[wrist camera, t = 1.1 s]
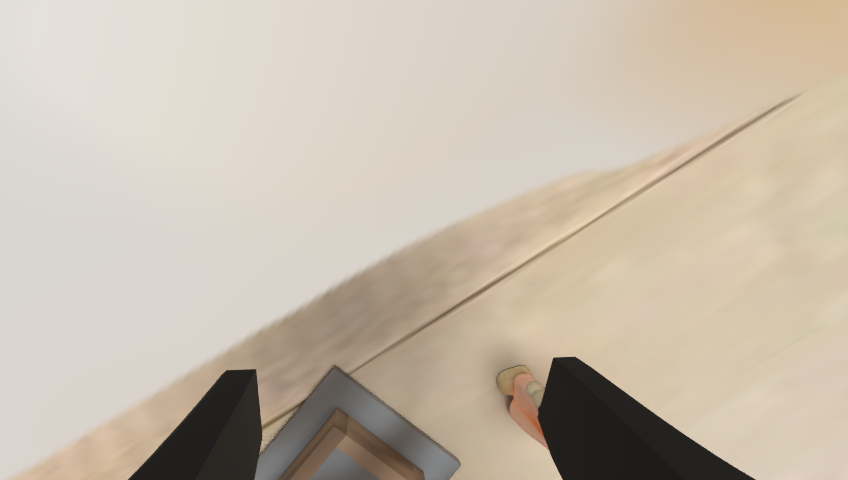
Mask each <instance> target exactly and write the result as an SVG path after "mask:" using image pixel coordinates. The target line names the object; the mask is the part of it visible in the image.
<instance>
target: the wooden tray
mask: <svg viewBox="0 0 848 480" xmlns="http://www.w3.org/2000/svg"><path fill="white" fill-rule="evenodd" d="M460 465H461V464H460V461H459V460H458V459H457V458H456V457H454V456H453V455H452V454H450V453H449V452H448V451H447V450H445V449H444V448H443V447H441V446H440V445H439V444H437V443H436V442H435V441H433V440H432V439H431V438H429V437H428V436H427V435H426V434H424V433H423V432H422V431H420V430H419V429H418V428H416V427H415V426H414V425H412V424H411V423H410V422H409V421H407V420H406V419H405V418H403V417H402V416H401V415H399V414H398V413H397V412H395V411H394V410H393V409H391V408H390V407H389V406H388V405H386V404H385V403H384V402H382V401H381V400H380V399H378V398H377V397H376V396H374V395H373V394H372V393H371V392H369V391H368V390H367V389H365V388H364V387H363V386H361V385H360V384H359V383H357V382H356V381H355V380H353V379H352V378H351V377H350V376H348V375H347V374H346V373H344V372H343V371H342V370H340V369H339V368H338V367H336V366H334V367H333V368H332V369H331V371H330V372H329V373H328V374H327V375H326V377H325V378H324V379H323V380H322V381H321V383H320V384H319V385H318V386H317V387H316V389H315V390H314V391H313V392H312V393H311V395H310V396H309V397H308V398H307V399H306V401H305V402H304V403H303V404H302V405H301V406H300V408H299V409H298V410H297V411H296V412H295V414H294V415H293V416H292V417H291V418H290V420H289V421H288V422H287V423H286V424H285V426H284V427H283V428H282V429H281V430H280V432H279V433H278V434H277V435H276V436H275V438H274V439H273V440H272V441H271V442H270V444H269V445H268V446H267V447H266V448H265V450H264V451H263V452H262V453H261V454H260V456H259V458H258V463H257V469H256V474H255V479H254V480H449V479H450V478H451V477H452V475H453V474H454V473H455V472H456V470H457V469H458V468H459V467H460Z"/></svg>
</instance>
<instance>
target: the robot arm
mask: <svg viewBox="0 0 848 480" xmlns="http://www.w3.org/2000/svg"><path fill="white" fill-rule="evenodd" d="M537 418H538V421H539V424H540V427H541V429H542V432H543V435H544V438H545V441H546V443H547V446H548V449H549V451H550V454H551V456H552V459H553V461H554V463H555V465H556V467H557V469H558V471H559V473H560V475H561V477H562V479H563V480H755V479H754V478H752V477H750V476H749V475H747V474H745V473H743V472H742V471H740V470H738V469H737V468H735V467H733V466H732V465H730V464H729V463H727V462H725V461H724V460H722V459H721V458H719V457H717V456H716V455H714V454H713V453H711V452H710V451H708V450H707V449H705V448H704V447H702V446H701V445H699V444H698V443H696V442H695V441H693V440H692V439H690V438H689V437H687V436H686V435H684V434H683V433H681V432H680V431H678V430H677V429H675V428H674V427H673V426H671V425H670V424H668V423H667V422H665V421H664V420H663V419H661V418H660V417H658V416H657V415H656V414H654V413H653V412H651V411H650V410H649V409H647V408H646V407H644V406H643V405H642V404H640V403H639V402H638V401H636V400H635V399H633V398H632V397H631V396H629V395H628V394H627V393H625V392H624V391H623V390H621V389H620V388H618V387H617V386H616V385H614V384H613V383H612V382H610V381H609V380H608V379H606V378H605V377H603V376H602V375H601V374H599V373H598V372H597V371H595V370H594V369H592V368H591V367H590V366H588V365H587V364H585V363H584V362H582V361H581V360H579V359H578V358H576V357H558V358H553V361H552V365H551V368H550V372H549V376H548V379H547V383H546V387H545V391H544V394H543V398H542V402H541V405H540V409H539V413H538V416H537ZM261 441H262V428H261V417H260V406H259V396H258V385H257V374H256V369H250V370H227V371H226V372H224V373H223V374H222V375H221V376H220V378H219V379H218V380H217V381H216V382H215V384H214V385H213V386H212V387H211V388H210V390H209V391H208V392H207V393H206V394H205V396H204V397H203V398H202V399H201V400H200V401H199V403H198V404H197V405H196V406H195V407H194V408H193V410H192V411H191V412H190V413H189V414H188V415H187V416H186V418H185V419H184V420H183V421H182V422H181V423H180V424H179V426H178V427H177V428H176V429H175V430H174V431H173V432H172V433H171V434H170V435H169V437H168V438H167V439H166V440H165V441H164V442H163V443H162V444H161V445H160V446H159V448H158V449H157V450H156V451H155V452H154V453H153V454H152V455H151V456H150V457H149V458H148V459H147V461H146V462H145V463H144V464H143V465H142V466H141V467H140V468H139V469H138V470H137V471H136V472H135V473H134V474H133V475H132V476H131V477H130V478H129V479H128V480H254V479H255V474H256V469H257V463H258V458H259V452H260V446H261Z"/></svg>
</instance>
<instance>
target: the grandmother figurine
mask: <svg viewBox="0 0 848 480" xmlns="http://www.w3.org/2000/svg"><path fill="white" fill-rule="evenodd" d="M497 385H498V388H499V390H500V391H501V392H502V393H503V394H505V395H513V397H514V399H513V400H512V402H511V405H510V414H511V417H512V418H513V420H514V421H515V422H516V423H517V424H518V425H519V426H520V427H521V428H522V429H523V430H524V431H525V432H526V433H527V434H529V435H530V436H531V437H532V438H534V439H535V440H537V441H538V442H539V443H541V444H542V445H543V446H544V447H546V448H547V449H548V446H547V443H546V441H545V438H544V435H543V432H542V429H541V427H540V424H539V421H538V418H537V416H538V413H539V409H540V405H541V402H542V398H543V394H544V391H545V388H544V387H542V386H541V384H540V383H538V382H537V381H536V380H535V379H534V378H533V377H532V375H531V372H530V370H529V368H528V367H526V366H524V365H521V366H517V367H513V368H510V369H507V370H504V371H502V372H501V373H500V374H499V375H498V378H497ZM548 450H549V449H548Z"/></svg>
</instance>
